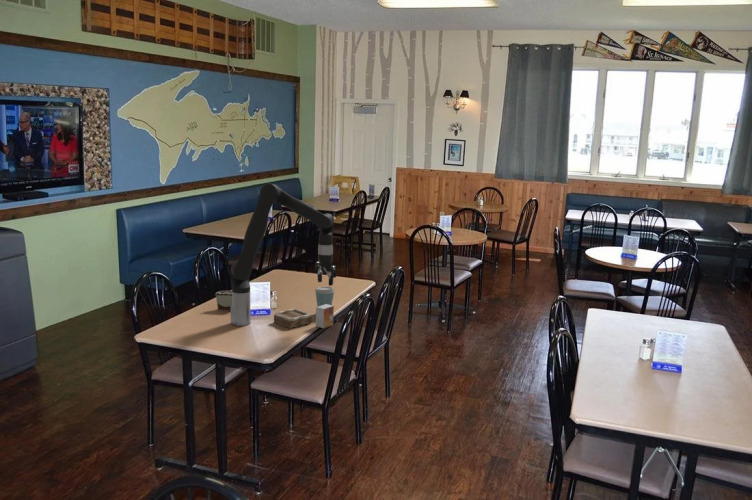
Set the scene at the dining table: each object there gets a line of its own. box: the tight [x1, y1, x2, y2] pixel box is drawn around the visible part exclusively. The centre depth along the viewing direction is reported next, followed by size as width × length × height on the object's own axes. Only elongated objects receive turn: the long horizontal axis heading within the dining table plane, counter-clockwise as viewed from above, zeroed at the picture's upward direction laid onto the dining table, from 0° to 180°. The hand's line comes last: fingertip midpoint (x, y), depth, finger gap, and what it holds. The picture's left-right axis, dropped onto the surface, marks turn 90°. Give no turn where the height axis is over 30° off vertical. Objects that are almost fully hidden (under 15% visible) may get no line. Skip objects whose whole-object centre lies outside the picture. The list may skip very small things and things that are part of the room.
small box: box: [315, 304, 335, 329], centre depth 334 cm, size 8×6×10 cm
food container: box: [214, 290, 232, 312], centre depth 358 cm, size 12×6×10 cm, turn 84°
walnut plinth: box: [273, 308, 313, 329], centre depth 338 cm, size 14×14×5 cm
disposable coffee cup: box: [315, 286, 335, 307], centre depth 354 cm, size 11×11×15 cm
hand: (325, 283), depth 331 cm, fingers open, 8 cm apart
